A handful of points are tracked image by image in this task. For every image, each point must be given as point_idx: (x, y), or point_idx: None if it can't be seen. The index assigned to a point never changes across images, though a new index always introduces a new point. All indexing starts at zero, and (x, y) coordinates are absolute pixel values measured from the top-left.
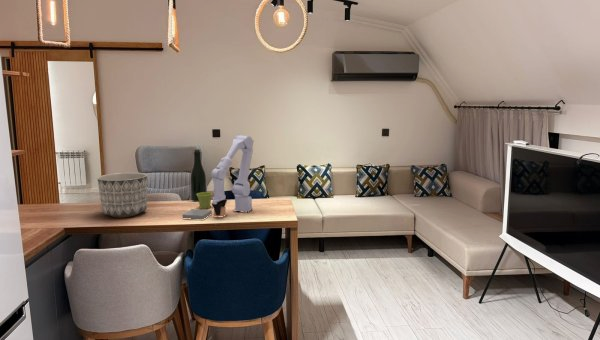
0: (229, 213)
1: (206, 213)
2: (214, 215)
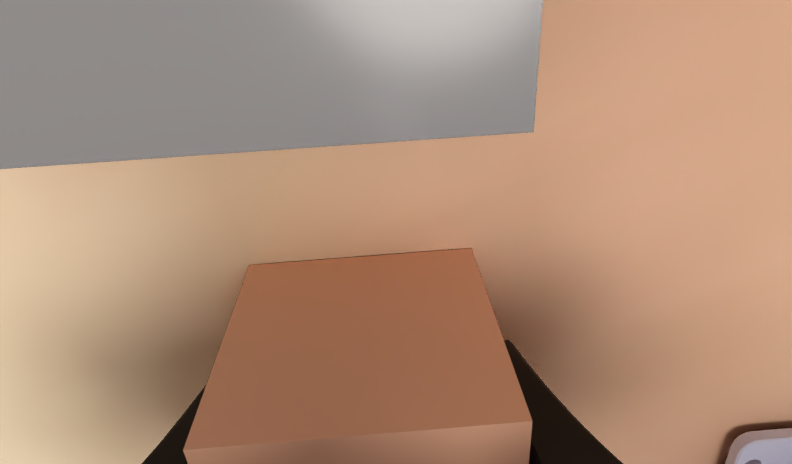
0: (630, 410)
1: (59, 157)
2: (243, 304)
